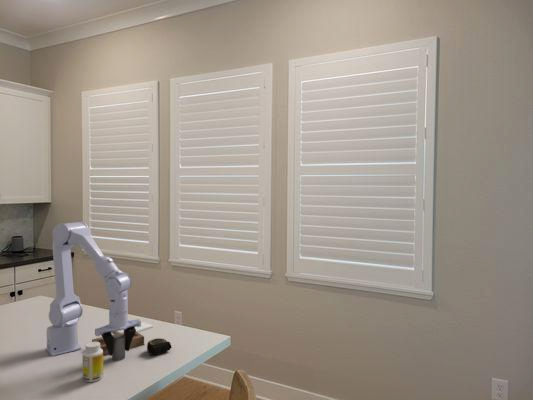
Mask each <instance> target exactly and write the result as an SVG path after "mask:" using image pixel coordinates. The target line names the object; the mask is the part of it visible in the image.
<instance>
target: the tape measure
mask: <svg viewBox="0 0 533 400" xmlns="http://www.w3.org/2000/svg"><path fill="white" fill-rule="evenodd" d="M146 346H147V347H146V348H147V349H146V351H147V353H148V354H151V355H153V356H154V355H155V356H156V355H159V354H162V353H165V352H168V351H170V350H171V349H172V345H171V342H170V341H167V340H166V339H165V338H160V337H159V338H154V339H153V338H152V339H150V340H148V342H147V344H146Z"/></svg>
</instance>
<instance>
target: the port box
mask: <svg viewBox="0 0 533 400" xmlns="http://www.w3.org/2000/svg"><path fill="white" fill-rule="evenodd" d="M116 335H124V332H122V333H112V336H116ZM91 339H92V338H91ZM91 342H99V343H100V348H101V349H102V350H103V357H104V356H107V355H109V354H108V350H107V346H106V344H105V341H104V339H103V337H102V336H101V337H100V336H99V337H96V338H93V339H92V340H91ZM144 345H145V336H144V335H143V334H141V332H139V333H138V332H137V331H136V333H135V335H134V336H133V339H132V341H131V344H130V348H129V350H130V349H134V348H137V347H142V346H144Z"/></svg>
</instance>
